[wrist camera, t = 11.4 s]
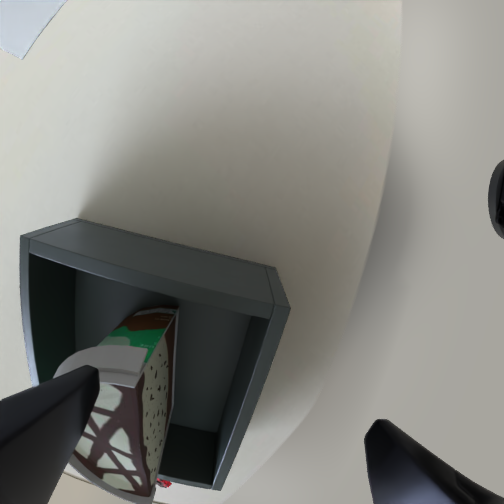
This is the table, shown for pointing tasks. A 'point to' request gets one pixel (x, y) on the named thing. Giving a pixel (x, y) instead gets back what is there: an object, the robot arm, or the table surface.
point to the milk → (24, 23)
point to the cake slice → (129, 404)
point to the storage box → (188, 335)
